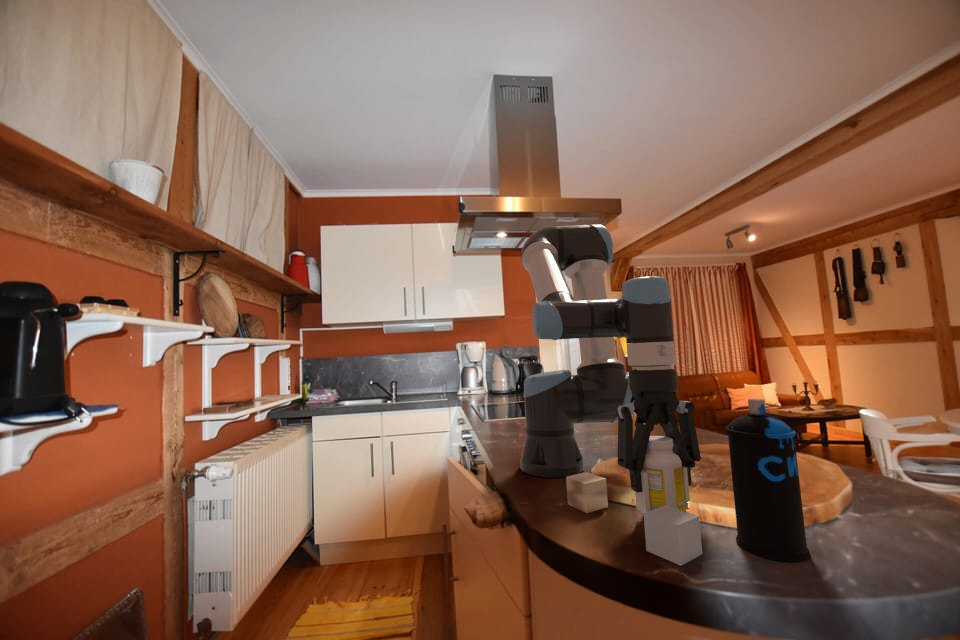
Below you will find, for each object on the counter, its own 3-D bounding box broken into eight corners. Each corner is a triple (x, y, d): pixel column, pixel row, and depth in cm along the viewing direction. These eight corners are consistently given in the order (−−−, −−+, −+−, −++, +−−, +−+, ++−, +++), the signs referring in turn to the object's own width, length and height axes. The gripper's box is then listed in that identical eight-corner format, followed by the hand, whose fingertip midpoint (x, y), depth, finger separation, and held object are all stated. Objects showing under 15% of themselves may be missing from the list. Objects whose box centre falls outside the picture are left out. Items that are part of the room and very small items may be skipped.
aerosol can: (722, 540, 57) (709, 399, 59) (761, 529, 60) (747, 395, 62) (783, 568, 49) (765, 404, 51) (825, 554, 52) (807, 399, 54)
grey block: (646, 551, 55) (643, 513, 55) (667, 541, 58) (665, 505, 58) (681, 566, 51) (677, 525, 51) (702, 554, 53) (699, 516, 54)
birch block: (567, 504, 73) (566, 476, 73) (588, 499, 75) (586, 472, 76) (586, 513, 69) (584, 483, 69) (608, 507, 71) (606, 478, 71)
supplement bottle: (677, 510, 68) (670, 433, 69) (694, 526, 62) (686, 442, 63) (637, 510, 69) (631, 434, 70) (649, 526, 62) (643, 442, 63)
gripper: (611, 371, 62) (622, 525, 60) (718, 365, 66) (732, 509, 64) (588, 370, 69) (597, 507, 67) (686, 365, 73) (697, 494, 71)
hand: (663, 508), depth 65 cm, fingers closed on supplement bottle, 7 cm apart
